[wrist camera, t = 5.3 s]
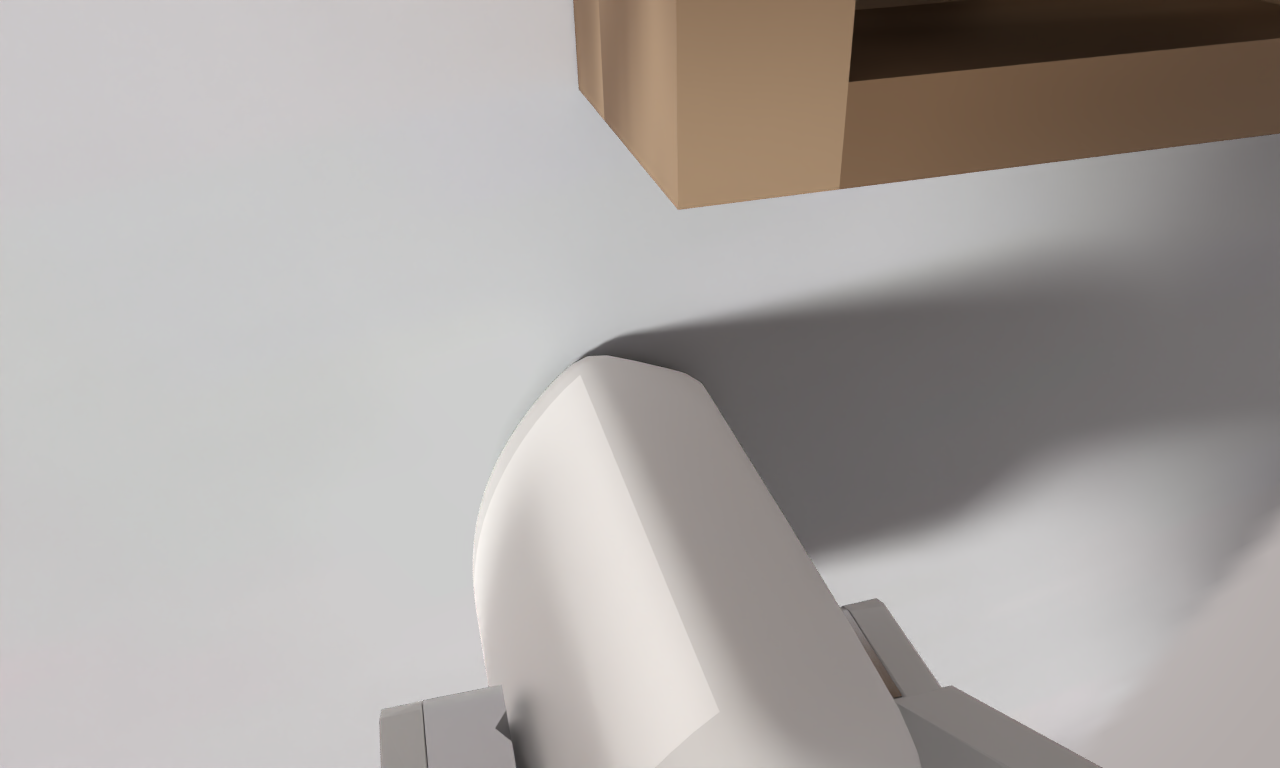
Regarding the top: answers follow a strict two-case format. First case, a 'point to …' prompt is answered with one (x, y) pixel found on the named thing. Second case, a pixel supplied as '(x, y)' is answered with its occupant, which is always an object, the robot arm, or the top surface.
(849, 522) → the top surface
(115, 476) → the top surface
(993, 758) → the robot arm
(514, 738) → the white squeeze bottle
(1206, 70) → the divided box
